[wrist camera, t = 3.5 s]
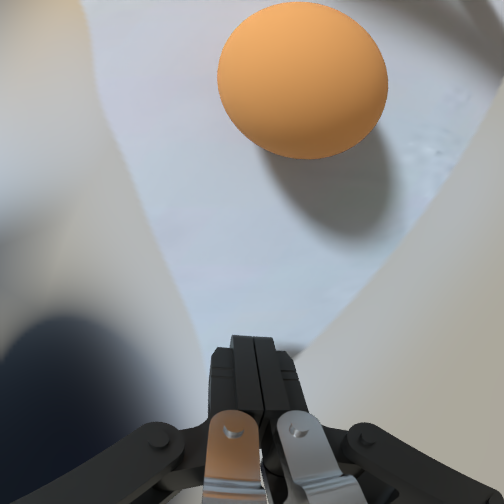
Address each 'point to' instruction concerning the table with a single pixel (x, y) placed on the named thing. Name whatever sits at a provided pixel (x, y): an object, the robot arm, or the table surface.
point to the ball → (302, 80)
